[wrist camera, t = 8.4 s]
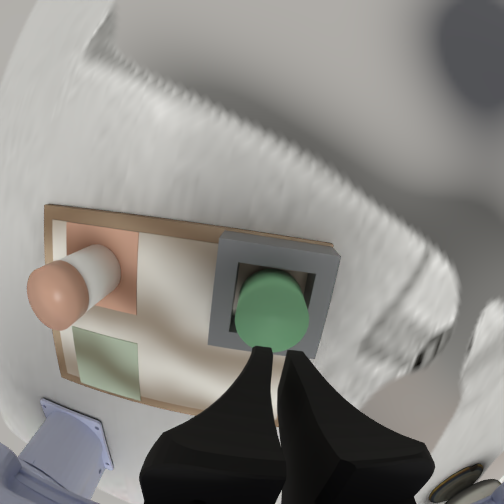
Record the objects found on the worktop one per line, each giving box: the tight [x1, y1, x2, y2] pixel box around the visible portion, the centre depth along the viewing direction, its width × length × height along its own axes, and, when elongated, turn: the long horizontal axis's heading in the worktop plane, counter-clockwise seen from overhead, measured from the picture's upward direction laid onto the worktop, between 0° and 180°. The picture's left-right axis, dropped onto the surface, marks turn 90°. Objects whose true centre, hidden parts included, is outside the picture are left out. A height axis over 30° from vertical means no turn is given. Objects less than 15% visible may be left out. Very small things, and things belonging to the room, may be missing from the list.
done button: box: [235, 269, 309, 352], centre depth 17 cm, size 4×4×3 cm
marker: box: [27, 244, 121, 331], centre depth 17 cm, size 4×4×6 cm
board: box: [44, 204, 334, 427], centre depth 21 cm, size 16×21×1 cm
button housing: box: [207, 230, 341, 359], centre depth 19 cm, size 7×7×2 cm
